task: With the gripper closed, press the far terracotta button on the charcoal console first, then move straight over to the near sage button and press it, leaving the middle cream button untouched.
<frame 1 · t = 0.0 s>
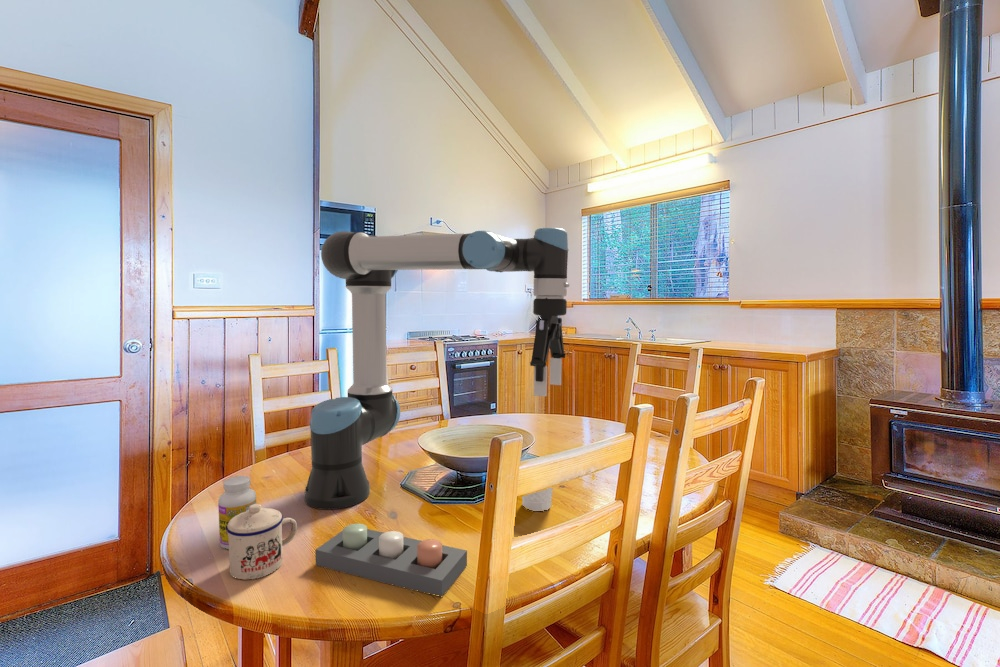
hand: (548, 390, 112), 28 cm above the table, tool pointing down, fingers open, 13 cm apart
button console: (391, 565, 90), on the table
terracotta button: (429, 554, 86), point 4 cm above the table, slide at 0.0 cm
cream button: (391, 546, 89), point 4 cm above the table, slide at 0.0 cm
white cup: (536, 506, 115), on the table
supplement bottle: (239, 543, 97), on the table
sage button: (355, 538, 92), point 4 cm above the table, slide at 0.0 cm
teacup with lid: (265, 564, 90), on the table
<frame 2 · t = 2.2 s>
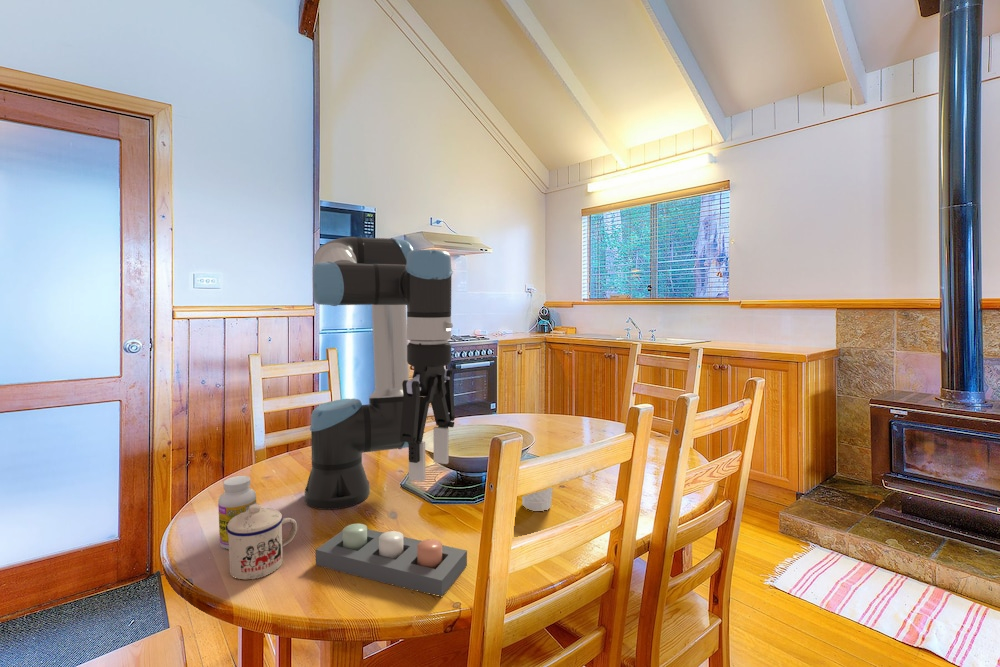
hand: (429, 470, 85), 19 cm above the table, tool pointing down, fingers open, 8 cm apart
nothing on the table moved.
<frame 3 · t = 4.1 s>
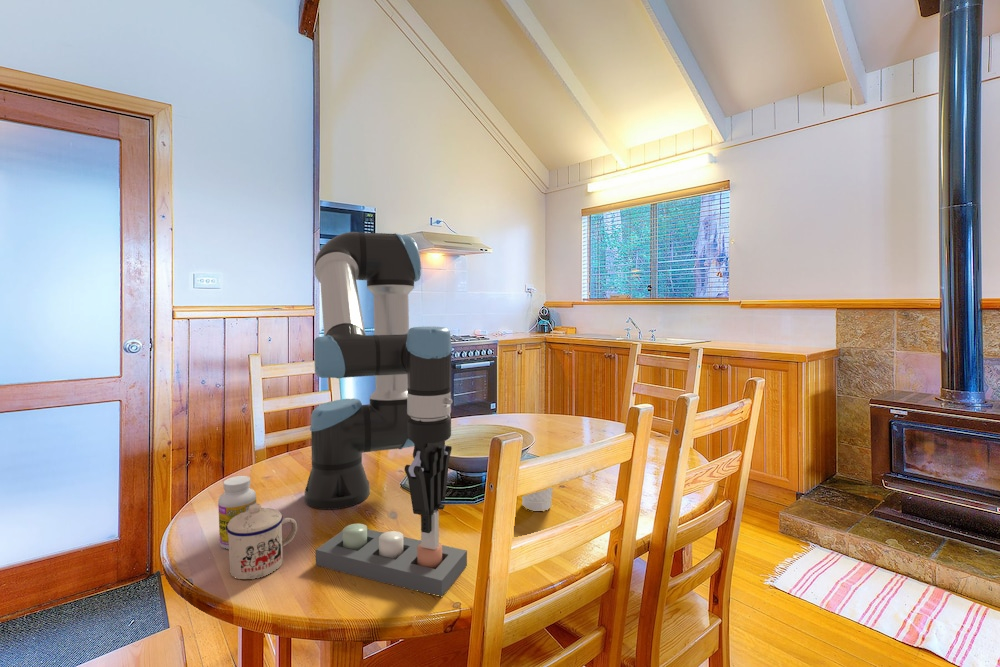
hand: (430, 546, 86), 5 cm above the table, tool pointing down, fingers closed
terracotta button: (429, 556, 86), point 3 cm above the table, slide at 0.4 cm, touching gripper
everything else where it was.
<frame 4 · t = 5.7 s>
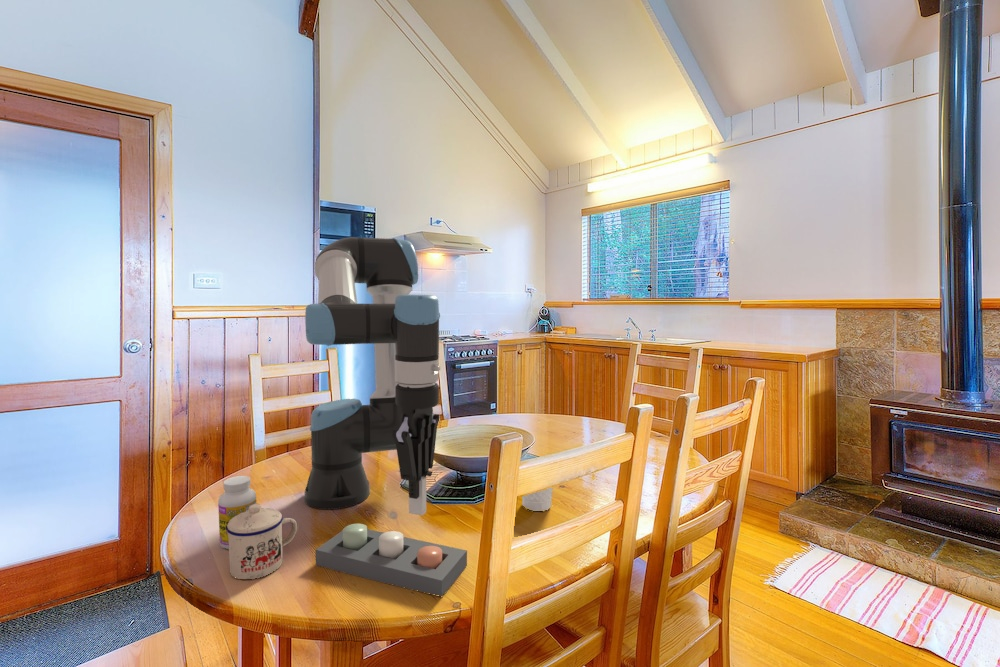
hand: (417, 512, 87), 11 cm above the table, tool pointing down, fingers closed
terracotta button: (429, 561, 87), point 2 cm above the table, slide at 1.3 cm
everything else where it was.
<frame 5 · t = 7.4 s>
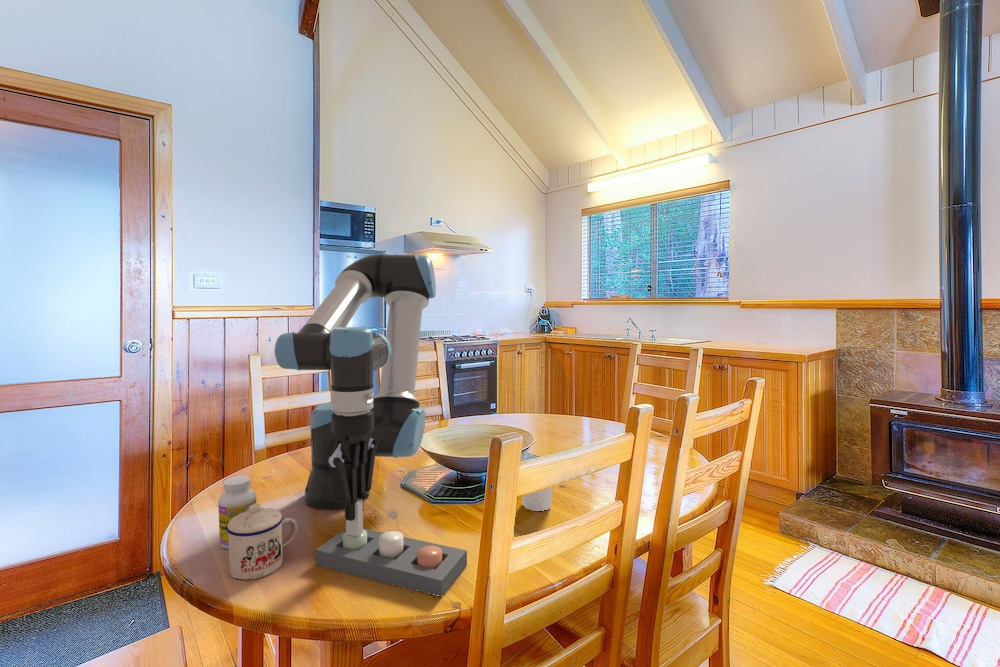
hand: (354, 533, 92), 5 cm above the table, tool pointing down, fingers closed
sage button: (355, 543, 92), point 3 cm above the table, slide at 1.0 cm, touching gripper
everything else where it was.
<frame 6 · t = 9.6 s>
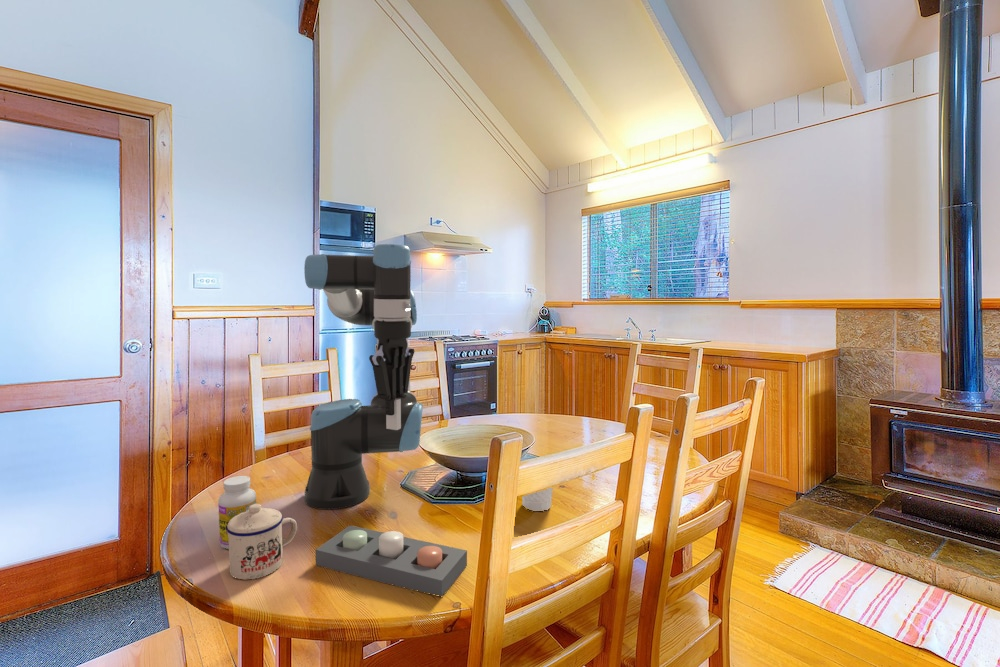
hand: (393, 428, 104), 21 cm above the table, tool pointing down, fingers closed
sage button: (355, 544, 92), point 2 cm above the table, slide at 1.3 cm
everything else where it was.
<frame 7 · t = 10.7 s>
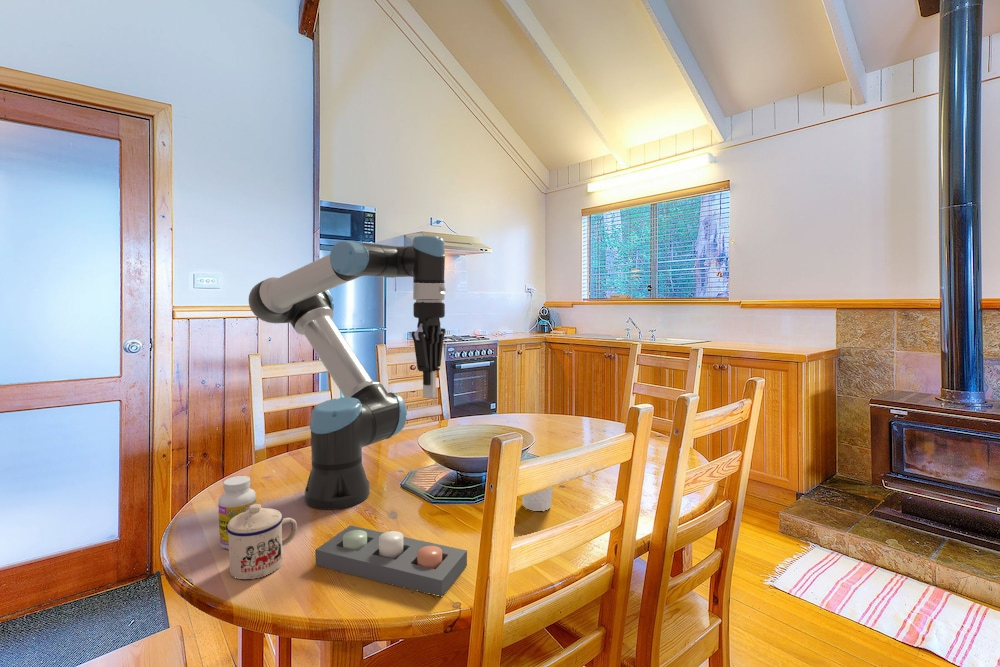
hand: (429, 397, 119), 24 cm above the table, tool pointing down, fingers closed
nothing on the table moved.
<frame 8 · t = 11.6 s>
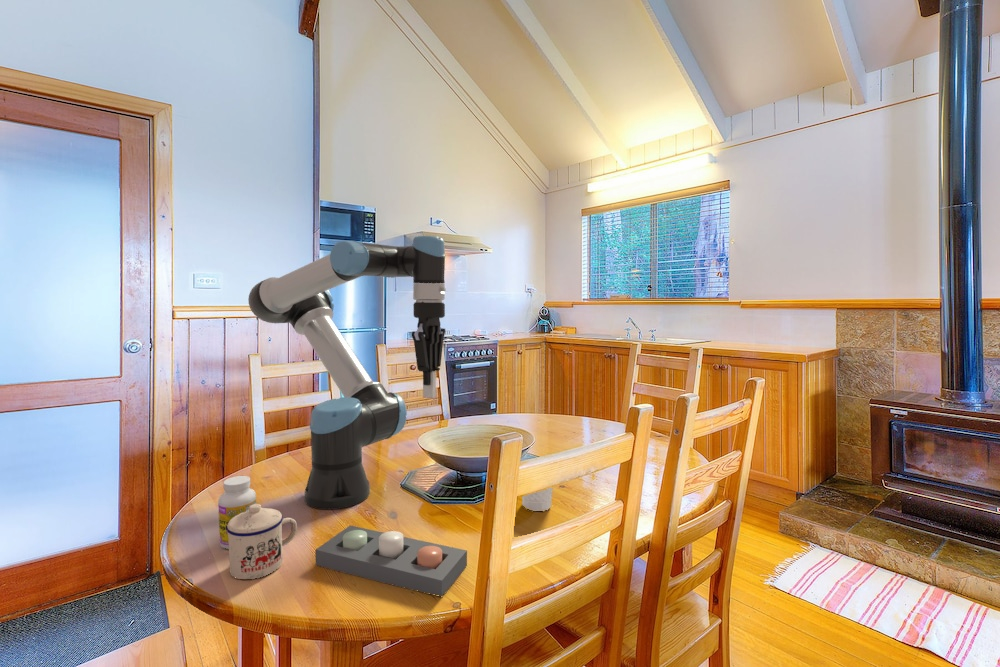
hand: (429, 397, 119), 24 cm above the table, tool pointing down, fingers closed
nothing on the table moved.
at the end: terracotta button slide at 1.3 cm; sage button slide at 1.3 cm; cream button slide at 0.0 cm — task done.
